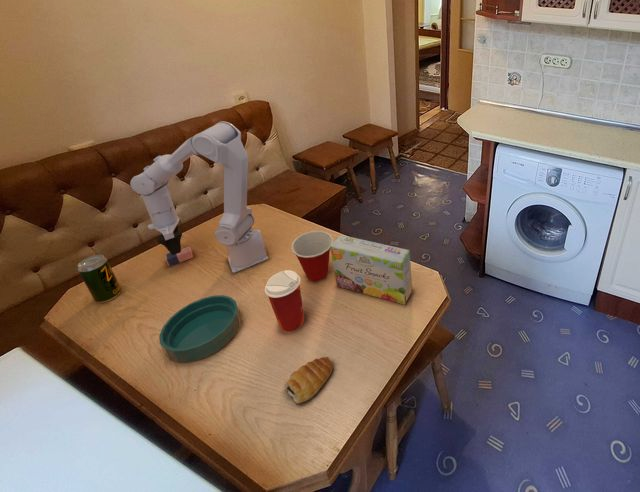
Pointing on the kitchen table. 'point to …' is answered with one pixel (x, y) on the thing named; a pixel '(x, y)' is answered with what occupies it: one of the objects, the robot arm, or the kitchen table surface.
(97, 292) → the beer can
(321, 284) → the kitchen table surface
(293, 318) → the paper cup
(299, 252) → the plastic cup
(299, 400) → the pastry
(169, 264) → the eraser
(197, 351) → the bowl
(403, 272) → the snack box
